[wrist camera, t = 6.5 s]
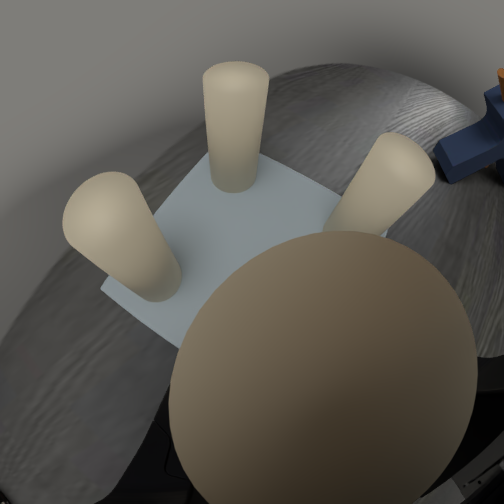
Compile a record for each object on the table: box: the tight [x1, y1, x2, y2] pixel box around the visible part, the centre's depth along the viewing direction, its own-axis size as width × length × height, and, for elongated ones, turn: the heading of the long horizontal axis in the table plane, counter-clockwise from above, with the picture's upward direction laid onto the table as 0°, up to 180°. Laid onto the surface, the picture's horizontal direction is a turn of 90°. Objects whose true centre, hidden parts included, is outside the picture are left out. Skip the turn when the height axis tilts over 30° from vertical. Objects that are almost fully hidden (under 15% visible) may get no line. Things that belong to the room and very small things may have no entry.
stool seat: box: [63, 61, 435, 349], centre depth 18 cm, size 18×18×13 cm
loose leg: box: [169, 231, 478, 504], centre depth 9 cm, size 4×4×13 cm
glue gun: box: [433, 68, 504, 184], centre depth 26 cm, size 6×31×15 cm
